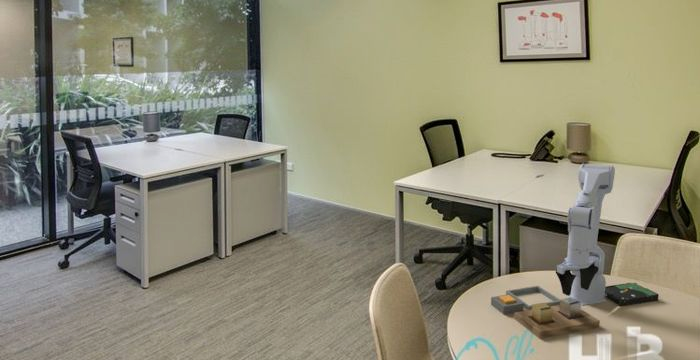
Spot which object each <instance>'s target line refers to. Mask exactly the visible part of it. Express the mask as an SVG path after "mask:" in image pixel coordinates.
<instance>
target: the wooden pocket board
mask: <svg viewBox="0 0 700 360" xmlns="http://www.w3.org/2000/svg"><path fill="white" fill-rule="evenodd" d="M550 307H551V308H553V314H552V323H549V324H544V325H538V324H537V323H536V322H534V321H533V320H532V319H531V316H532V310H523V311H521V312H515V313H514V317H513V319H514V320H515V321H516V322H517V323H519V324H520V325H521V326H523V327H524V328H525V329H526V330H528V331H529V332H530V333H531V334H533V336H535V337H537V338H538V339H539V340H540V339H544V338H549V337H554V336H555V337H556V336H560V335H567V334H572V333H577V332H583V331H586V330H591V329H593V330H594V329H597V328H600V325H601V324H600V322H601V321H600V320H599V319H598V318H596V317H594V316H593V315H592V314H590V313H588V312H586V311H585V310H583V309H582V308H581V310H580V318H577V319H571V320H569V319H567V318H566V317H564V316H563V315H561V314H560V313H559V310H560V305H556V306H550Z"/></svg>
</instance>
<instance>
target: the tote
mask: <svg viewBox="0 0 700 360" xmlns="http://www.w3.org/2000/svg"><path fill="white" fill-rule="evenodd" d="M531 293H540V294H542V295H543V296H544V297H546V298H547V299H549V300H550V301H548V302H544V303H545V304H547V305H548V306H556V305H560V300H561V299H560V298H558V297H557V296H556V295H553V294H552V293H551V292H549V291H547V290H546V289H544V288H543V287H541V286H539V285H534V286H527V287H520V288H515V289H508V290H505V295H508V294H511V295H513V296H514V297H515V298H517V299H518V300H520V301H521V302H522V303H524V306H523V309H525V311H527V310H532V305H533V304H530V305H529V304H528V303H526V302H525V301H523V300H522V299H520V298H519V297H518V295H524V294H531Z"/></svg>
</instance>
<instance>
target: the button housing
mask: <svg viewBox="0 0 700 360" xmlns="http://www.w3.org/2000/svg"><path fill="white" fill-rule="evenodd" d="M508 295H510V296H511V297H512V298H514V299H515V300H516V302H515V303H509V304H504V303H503V302H502V301H500V300H499V297H500V296H506V294H503V295H497V296H496V295H495V296H491V297H490V306H492V307H493V308H494V309H496V310H497V311H499V312H500V313H501V314H502V315H509V314H513V313H514V314H515V312H521V311H524V308H523V306H524V303H522V302H521V301H520V300H518V299H517V298H515V297H514V296H513V295H511V294H508Z"/></svg>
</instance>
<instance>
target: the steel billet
mask: <svg viewBox="0 0 700 360" xmlns="http://www.w3.org/2000/svg"><path fill="white" fill-rule="evenodd" d="M581 306H582V305H581V302H579V301H577V300H575V299H573V298H571V297H565V298H561V299H560V310H559V313H560V314H561V315H563V316H564V317H566V318H567V319H569V320H571V319H577V318H580V310H581V309H582V307H581Z"/></svg>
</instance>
